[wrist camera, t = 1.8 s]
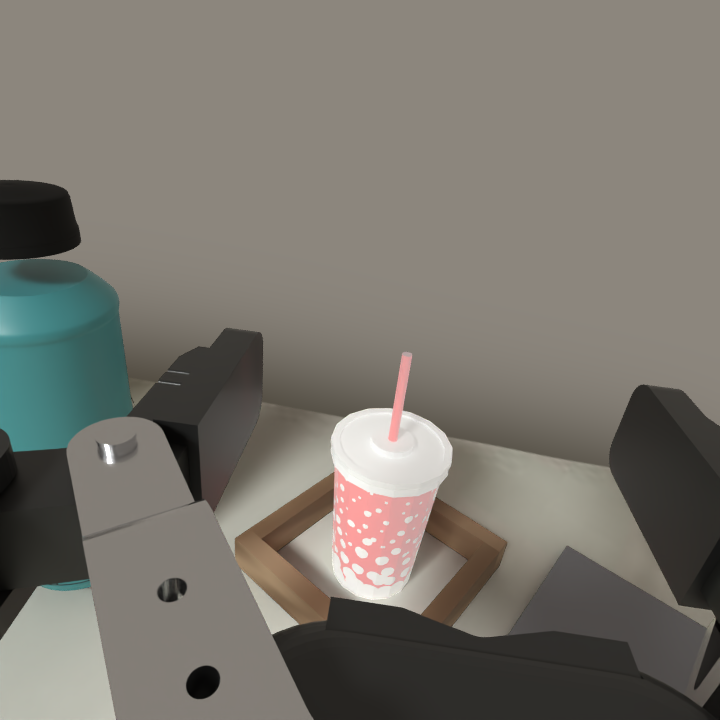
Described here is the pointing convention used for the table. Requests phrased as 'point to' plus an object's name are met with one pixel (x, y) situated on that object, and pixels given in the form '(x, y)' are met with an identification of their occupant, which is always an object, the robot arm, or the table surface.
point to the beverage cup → (384, 492)
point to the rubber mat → (614, 617)
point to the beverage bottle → (53, 329)
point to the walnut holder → (313, 605)
